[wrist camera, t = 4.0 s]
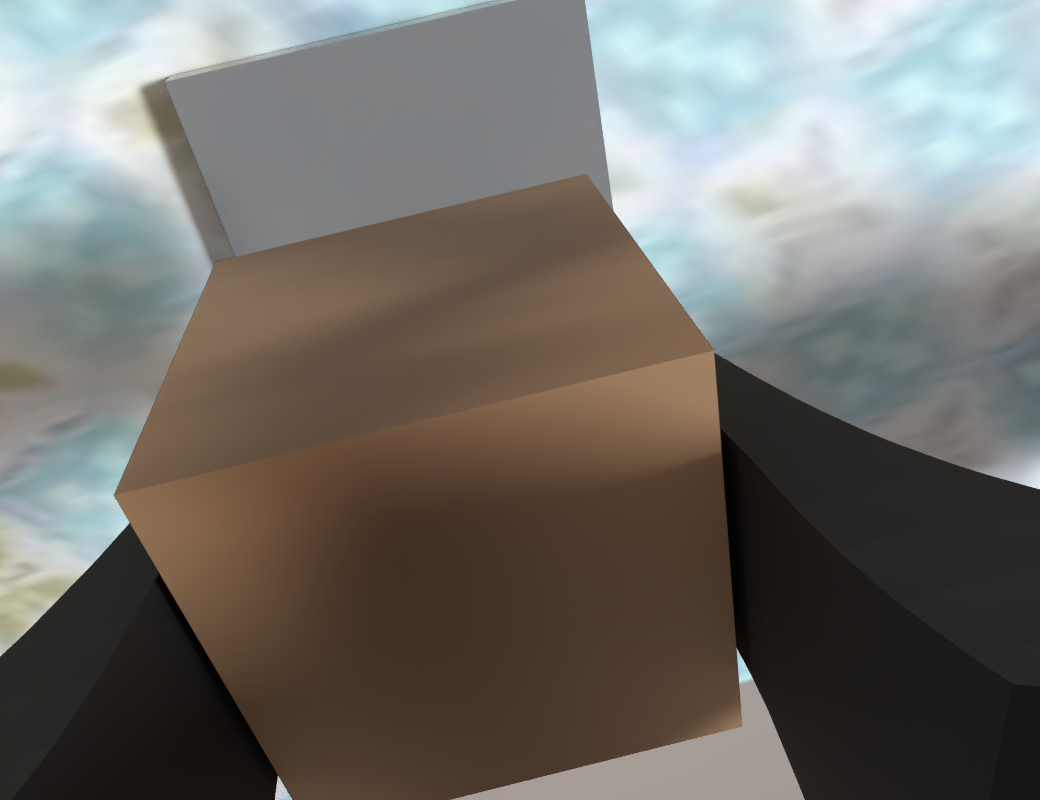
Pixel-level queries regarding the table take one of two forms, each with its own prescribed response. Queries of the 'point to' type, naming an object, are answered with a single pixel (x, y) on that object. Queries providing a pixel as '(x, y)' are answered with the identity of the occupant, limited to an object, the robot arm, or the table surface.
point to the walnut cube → (447, 500)
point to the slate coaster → (395, 120)
